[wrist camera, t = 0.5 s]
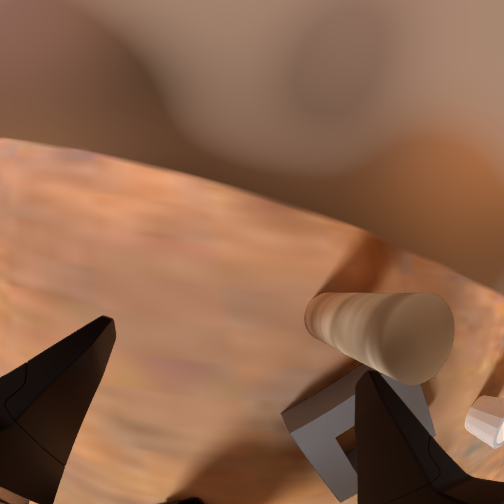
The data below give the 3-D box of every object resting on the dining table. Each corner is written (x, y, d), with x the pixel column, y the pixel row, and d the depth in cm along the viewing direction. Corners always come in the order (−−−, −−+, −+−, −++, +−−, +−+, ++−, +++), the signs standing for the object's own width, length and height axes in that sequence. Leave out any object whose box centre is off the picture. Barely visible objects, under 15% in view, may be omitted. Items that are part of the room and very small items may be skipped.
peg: (357, 324, 24) (462, 347, 11) (318, 349, 23) (403, 402, 10) (336, 283, 24) (438, 274, 11) (295, 308, 24) (372, 329, 10)
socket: (416, 422, 23) (435, 435, 19) (328, 482, 21) (340, 502, 18) (386, 345, 24) (409, 352, 20) (280, 413, 22) (289, 433, 18)
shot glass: (478, 431, 24) (507, 444, 17) (455, 436, 23) (486, 453, 16) (495, 390, 24) (527, 399, 18) (473, 391, 24) (508, 402, 17)
